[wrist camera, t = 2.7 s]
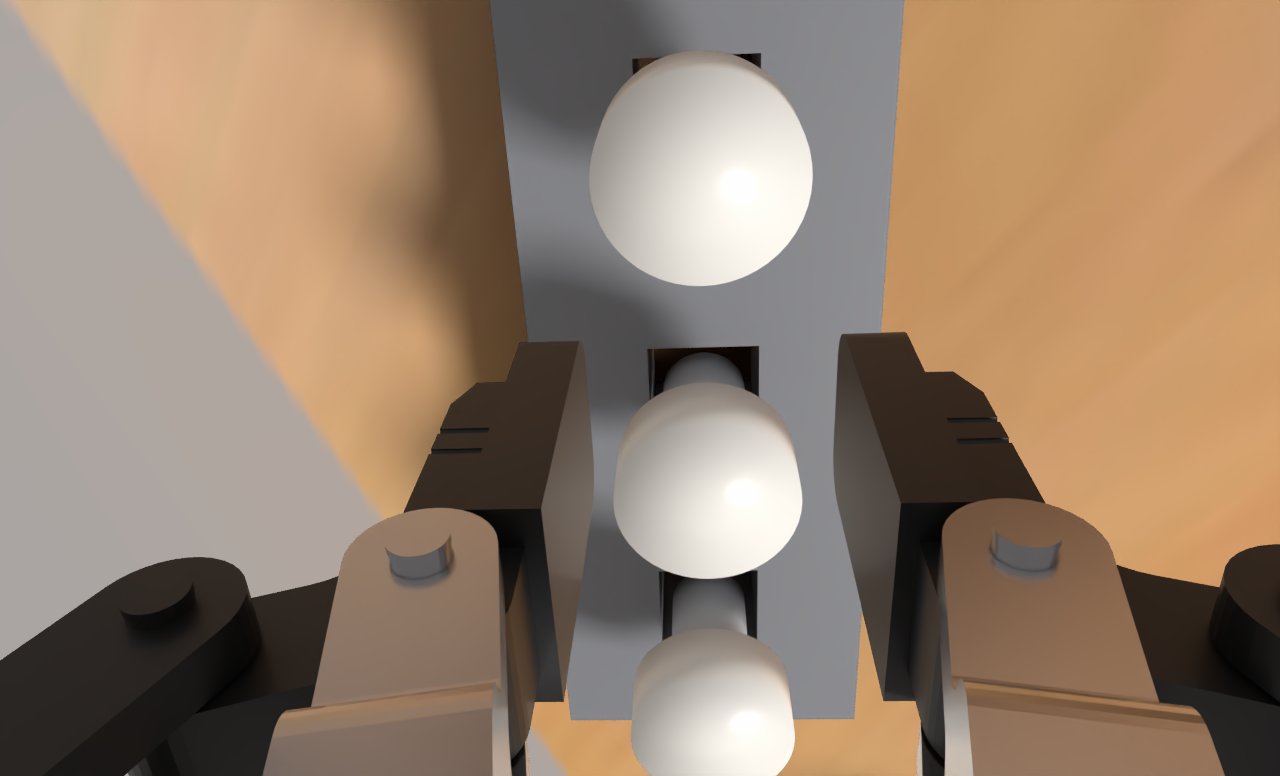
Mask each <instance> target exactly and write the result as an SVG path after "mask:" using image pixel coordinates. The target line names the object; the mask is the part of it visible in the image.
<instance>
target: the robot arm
mask: <svg viewBox="0 0 1280 776" xmlns="http://www.w3.org/2000/svg"><path fill="white" fill-rule="evenodd" d="M431 451H432V453H431V454H429V456H428V458H427V460H426V462H425V465H424V467H423V469H422V471H421V474H420V476H419V478H418V481H417V483H416V485H415V487H414V490H413V492H412V494H411V497H410V499H409V501H408V503H407V506H406V508H405V510H404V513H402V514H398V515H396V516H393V517H390V518H387V519H385V520H383V521H381V522H379V523H377V524H375V525H374V526H372V527H370V528H369V529H367V530H366V531H364V532H363V533H362V534H361V535H360V536H358V537H357V538H356V539H355V540H354V541H353V543H351V545H350V546H349V547H348V549H347V551H346V552H345V554H344V557H343V560H342V562H341V567H340V572H339V576H337V577H335V578H332V579H329V580H326V581H323V582H320V583H316V584H312V585H308V586H304V587H299V588H295V589H290V590H286V591H281V592H277V593H272V594H268V595H263V596H259V597H254V598H251V596H250V593H249V589H248V586H247V583H246V580H245V577H244V575H243V573H242V572H241V571H240V570H239V569H238V568H237V567H235V566H234V565H233V564H230V563H228V562H226V561H223V560H218V559H214V558H205V557H193V558H181V559H174V560H169V561H165V562H161V563H157V564H154V565H151V566H148V567H145V568H142V569H140V570H138V571H135V572H133V573H130V574H128V575H127V576H124V577H122V578H120V579H119V580H117V581H115V582H113V583H112V584H110V585H109V586H107V587H105V588H104V589H103V590H101V591H100V592H98V593H97V594H95V595H94V596H92V597H91V598H90V599H88V600H87V601H85V602H84V603H83V604H81V605H80V606H78V607H77V608H75V609H74V610H72V611H71V612H69V613H68V614H67V615H65V616H64V617H62V618H61V619H59V620H58V621H56V622H55V623H54V624H52V625H51V626H50V627H48V628H46V629H45V630H44V631H42V632H41V633H39V634H38V635H36V636H35V637H34V638H32V639H31V640H29V641H28V642H26V643H25V644H23V645H22V646H20V647H19V648H18V649H16V650H15V651H13V652H12V653H10V654H9V655H7V656H6V657H5V658H3V659H2V660H0V776H124V775H125V774H127V773H128V774H129V776H530V762H529V754H528V747H527V740H526V739H527V736H528V733H529V730H530V725H531V720H532V714H533V709H534V703H535V702H564V696H565V689H566V682H567V676H568V669H569V662H570V655H571V649H572V642H573V635H574V628H575V622H576V615H577V608H578V601H579V595H580V588H581V581H582V574H583V568H584V561H585V554H586V547H587V541H588V534H589V527H590V520H591V514H592V507H593V497H594V458H593V445H592V433H591V421H590V409H589V397H588V385H587V373H586V362H585V353H584V347H583V344H582V341H548V342H521V343H520V344H519V346H518V349H517V352H516V355H515V357H514V360H513V363H512V366H511V369H510V372H509V375H508V377H507V380H506V382H494V383H477V384H475V385H474V386H473V387H472V388H471V389H469V390H468V391H467V392H466V393H464V394H463V395H462V396H461V397H459V398H458V399H457V400H456V401H455V402H453V403H452V404H451V405H450V408H449V410H448V412H447V414H446V417H445V419H444V421H443V424H442V426H441V428H440V434H438V435H437V437H436V440H435V442H434V444H433V446H432V449H431ZM833 469H834V485H835V493H836V500H837V504H838V509H839V513H840V517H841V521H842V526H843V530H844V534H845V539H846V543H847V547H848V551H849V556H850V560H851V564H852V568H853V573H854V577H855V581H856V586H857V590H858V594H859V598H860V603H861V607H862V611H863V615H864V620H865V624H866V628H867V633H868V637H869V641H870V645H871V650H872V654H873V658H874V662H875V667H876V671H877V675H878V680H879V684H880V688H881V692H882V697H883V701H916V705H917V708H918V712H919V716H920V719H921V724H920V733H919V742H918V751H917V776H1280V544H1272V545H1263V546H1257V547H1253V548H1249V549H1246V550H1244V551H1242V552H1239V553H1237V554H1236V555H1235V556H1234V557H1232V558H1231V559H1230V560H1229V562H1228V563H1227V565H1226V566H1225V570H1224V574H1223V577H1222V581H1221V584H1220V587H1215V586H1209V585H1204V584H1198V583H1193V582H1188V581H1182V580H1177V579H1171V578H1166V577H1160V576H1155V575H1151V574H1146V573H1142V572H1138V571H1134V570H1131V569H1128V568H1125V567H1121V566H1119V565H1116V562H1115V559H1114V555H1113V552H1112V550H1111V548H1110V545H1109V543H1108V542H1107V540H1106V539H1105V538H1104V536H1103V535H1102V534H1101V533H1100V532H1099V531H1098V530H1097V529H1096V528H1095V527H1093V526H1092V525H1091V524H1089V523H1088V522H1086V521H1085V520H1084V519H1082V518H1080V517H1078V516H1076V515H1074V514H1073V513H1070V512H1068V511H1066V510H1063V509H1061V508H1058V507H1055V506H1052V505H1049V504H1046V503H1045V502H1044V500H1043V498H1042V496H1041V494H1040V493H1039V491H1038V489H1037V487H1036V485H1035V484H1034V482H1033V480H1032V478H1031V477H1030V475H1029V473H1028V471H1027V469H1026V468H1025V466H1024V464H1023V462H1022V460H1021V459H1020V457H1019V455H1018V453H1017V452H1016V450H1015V448H1014V446H1013V444H1012V443H1009V437H1008V435H1007V434H1006V432H1005V430H1004V428H1003V427H1002V425H1001V423H1000V422H997V416H996V414H995V412H994V410H993V409H992V407H991V405H990V403H989V402H988V400H987V398H986V396H985V394H984V393H983V392H982V391H981V390H979V389H978V388H976V387H975V386H973V385H972V384H970V383H969V382H968V381H966V380H965V379H963V378H962V377H960V376H959V375H957V374H956V373H954V372H925V371H924V369H923V367H922V365H921V362H920V360H919V358H918V356H917V354H916V352H915V350H914V347H913V345H912V343H911V341H910V339H909V337H908V335H907V333H905V332H892V333H855V334H842V335H841V337H840V341H839V348H838V363H837V384H836V405H835V426H834V446H833Z"/></svg>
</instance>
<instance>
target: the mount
mask: <svg viewBox="0 0 1280 776" xmlns="http://www.w3.org/2000/svg"><path fill="white" fill-rule="evenodd" d="M489 1H490V10H491V19H492V28H493V36H494V45H495V54H496V63H497V72H498V81H499V89H500V98H501V107H502V116H503V125H504V133H505V142H506V151H507V160H508V169H509V178H510V186H511V195H512V204H513V213H514V222H515V231H516V239H517V248H518V257H519V266H520V275H521V284H522V292H523V301H524V310H525V319H526V328H527V336H528V342H548V341H582V344H583V347H584V353H585V362H586V373H587V385H588V397H589V409H590V421H591V433H592V445H593V458H594V497H593V507H592V514H591V520H590V527H589V534H588V541H587V547H586V554H585V561H584V568H583V574H582V581H581V588H580V595H579V601H578V608H577V615H576V622H575V628H574V635H573V642H572V649H571V655H570V662H569V669H568V676H567V690H568V698H569V707H570V716H571V720H632V711H633V696H634V681H635V675H636V672H637V669H638V666H639V664H640V663H641V661H642V659H643V658H644V657H645V655H646V654H647V653H648V652H649V651H650V650H651V649H652V648H653V647H654V646H656V645H657V644H659V643H660V642H661V641H663V640H665V639H667V638H669V637H671V636H672V611H673V593H674V591H675V588H676V587H677V585H678V584H679V583H680V582H681V581H682V580H683V579H684V578H686V577H685V576H681V575H677V574H673V573H671V572H668V571H665V570H663V569H661V568H659V567H657V566H655V565H653V564H652V563H650V562H649V561H647V560H646V559H644V558H643V557H642V556H641V555H639V554H638V553H637V552H636V551H635V550H634V549H633V548H632V547H631V546H630V545H629V543H628V542H627V540H626V539H625V538H624V536H623V535H622V533H621V530H620V528H619V526H618V524H617V521H616V517H615V513H614V507H613V494H614V486H615V477H616V469H617V460H618V452H619V446H620V441H621V438H622V435H623V432H624V430H625V428H626V426H627V424H628V423H629V421H630V420H631V418H632V417H633V415H634V414H635V413H636V412H637V411H638V410H639V409H640V408H641V407H642V406H643V405H644V404H646V403H647V402H648V401H649V400H651V399H652V398H654V397H655V396H657V395H659V394H661V393H663V387H664V383H656V380H655V359H654V349H662V348H699V347H737V346H751V381H744V388H745V390H746V391H749V392H751V393H753V394H755V395H756V396H758V397H760V398H761V399H763V400H764V401H765V402H767V403H768V404H769V405H770V406H771V407H772V408H773V409H774V410H775V411H776V412H777V413H778V414H779V415H780V417H781V418H782V419H783V421H784V422H785V424H786V426H787V428H788V430H789V432H790V435H791V438H792V441H793V446H794V451H795V457H796V462H797V468H798V473H799V479H800V484H801V490H802V511H801V515H800V519H799V523H798V525H797V527H796V529H795V532H794V533H793V535H792V537H791V538H790V540H789V541H788V542H787V544H786V545H785V546H784V547H783V548H782V549H781V550H780V551H779V552H778V553H777V554H776V555H775V556H774V557H772V558H771V559H770V560H768V561H767V562H765V563H764V564H762V565H760V566H758V567H756V568H755V569H752V570H751V571H747V572H745V573H742V574H738V575H735V576H730V577H731V578H733V579H734V580H735V581H736V582H737V583H738V584H739V585H740V586H741V588H742V590H743V593H744V599H745V612H746V625H747V635H748V636H751V637H753V638H755V639H757V640H759V641H760V642H762V643H763V644H765V645H766V646H767V647H768V648H770V649H771V650H772V651H773V652H774V653H775V654H776V655H777V657H778V658H779V659H780V661H781V662H782V664H783V666H784V668H785V670H786V673H787V678H788V684H789V692H790V700H791V708H792V716H793V719H854V713H855V699H856V684H857V670H858V656H859V641H860V627H861V613H862V607H861V603H860V598H859V594H858V590H857V586H856V581H855V577H854V573H853V568H852V564H851V560H850V556H849V551H848V547H847V543H846V539H845V534H844V530H843V526H842V521H841V517H840V513H839V509H838V504H837V500H836V493H835V485H834V469H833V446H834V426H835V405H836V384H837V363H838V348H839V341H840V337H841V335H842V334H855V333H881V326H882V312H883V297H884V283H885V269H886V254H887V240H888V226H889V211H890V197H891V183H892V168H893V154H894V140H895V125H896V111H897V97H898V82H899V68H900V54H901V39H902V25H903V11H904V0H489ZM691 50H713V51H719V52H725V53H728V54H749V53H752V63H753V64H754V65H756V66H757V67H759V68H760V69H762V70H763V71H764V72H766V73H767V74H768V75H769V76H770V77H771V78H773V79H774V81H775V82H776V83H777V84H778V85H779V86H780V87H781V88H782V90H783V91H784V93H785V94H786V96H787V97H788V99H789V100H790V102H791V104H792V106H793V109H794V111H795V113H796V115H797V117H798V120H799V122H800V124H801V127H802V129H803V131H804V133H805V136H806V139H807V142H808V145H809V148H810V154H811V159H812V171H813V181H812V191H811V196H810V200H809V204H808V208H807V210H806V213H805V216H804V218H803V221H802V223H801V224H800V226H799V228H798V230H797V232H796V233H795V235H794V236H793V238H792V239H791V240H790V242H789V243H788V244H787V246H786V247H785V248H784V249H783V250H782V251H781V252H780V253H779V254H778V255H777V256H776V257H775V258H774V259H772V260H771V261H770V262H769V263H768V264H766V265H765V266H763V267H761V268H760V269H758V270H757V271H755V272H753V273H751V274H749V275H747V276H745V277H743V278H740V279H737V280H734V281H731V282H727V283H723V284H718V285H710V286H687V285H681V284H675V283H671V282H667V281H664V280H661V279H658V278H656V277H654V276H651V275H649V274H647V273H645V272H644V271H642V270H640V269H639V268H637V267H636V266H634V265H633V264H632V263H630V262H629V261H628V260H626V259H625V258H624V257H623V256H622V255H621V254H620V253H619V252H618V251H617V250H616V249H615V247H614V246H613V245H612V244H611V242H610V241H609V240H608V238H607V237H606V235H605V233H604V232H603V230H602V228H601V227H600V224H599V222H598V220H597V217H596V215H595V212H594V208H593V205H592V201H591V195H590V188H589V169H590V161H591V156H592V152H593V148H594V144H595V141H596V138H597V135H598V132H599V129H600V126H601V123H602V120H603V118H604V115H605V113H606V111H607V108H608V106H609V105H610V103H611V101H612V100H613V98H614V96H615V95H616V94H617V92H618V91H619V90H620V88H621V87H622V86H623V85H624V84H625V83H626V82H627V81H628V80H629V79H630V78H631V77H632V76H633V75H634V74H635V73H637V72H638V71H639V70H641V67H640V58H660V57H665V56H668V55H671V54H675V53H679V52H683V51H691Z"/></svg>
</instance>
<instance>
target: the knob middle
mask: <svg viewBox="0 0 1280 776" xmlns="http://www.w3.org/2000/svg"><path fill="white" fill-rule="evenodd" d="M613 507H614V513H615V517H616V521H617V524H618V526H619V528H620V530H621V533H622V535H623V536H624V538H625V539H626V540H627V542H628V543H629V545H630V546H631V547H632V548H633V549H634V550H635V551H636V552H637V553H638V554H639V555H641V556H642V557H643V558H644V559H646V560H647V561H649V562H650V563H652V564H653V565H655V566H657V567H659V568H661V569H663V570H665V571H668V572H671V573H673V574H677V575H681V576H685V577H691V578H700V579H714V578H724V577H730V576H735V575H738V574H742V573H745V572H747V571H750V570H752V569H755V568H756V567H758V566H760V565H762V564H764V563H765V562H767V561H768V560H770V559H771V558H772V557H774V556H775V555H776V554H777V553H778V552H779V551H780V550H781V549H782V548H783V547H784V546H785V545H786V544H787V542H788V541H789V540H790V538H791V537H792V535H793V533H794V532H795V529H796V527H797V525H798V523H799V519H800V515H801V511H802V490H801V484H800V479H799V473H798V468H797V462H796V457H795V451H794V446H793V441H792V438H791V435H790V432H789V430H788V428H787V426H786V424H785V422H784V421H783V419H782V418H781V417H780V415H779V414H778V413H777V412H776V411H775V410H774V409H773V408H772V407H771V406H770V405H769V404H768V403H767V402H765V401H764V400H763V399H761V398H760V397H758V396H756V395H755V394H753V393H751V392H749V391H746V390H745V388H744V381H743V377H742V375H741V373H740V371H739V369H738V368H737V367H736V366H735V365H734V364H733V363H732V362H731V361H730V360H728V359H727V358H725V357H723V356H721V355H718V354H714V353H706V352H702V353H694V354H691V355H688V356H685V357H683V358H682V359H680V360H678V361H677V362H676V363H675V364H674V365H673V366H672V367H671V368H670V370H669V371H668V373H667V375H666V377H665V380H664V387H663V393H661V394H659V395H657V396H655V397H654V398H652V399H651V400H649V401H648V402H647V403H646V404H644V405H643V406H642V407H641V408H640V409H639V410H638V411H637V412H636V413H635V414H634V415H633V417H632V418H631V420H630V421H629V423H628V424H627V426H626V428H625V430H624V432H623V435H622V438H621V441H620V446H619V452H618V460H617V469H616V477H615V486H614V494H613Z"/></svg>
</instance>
